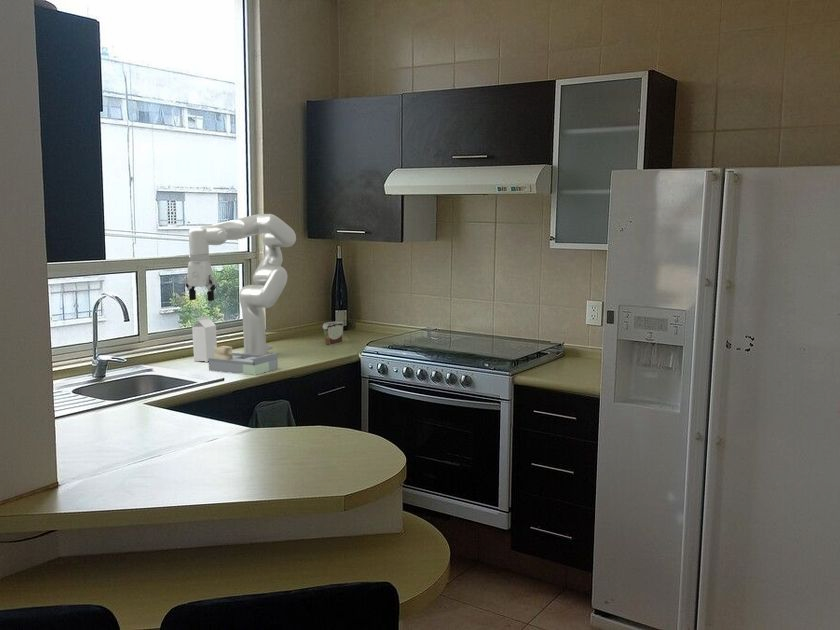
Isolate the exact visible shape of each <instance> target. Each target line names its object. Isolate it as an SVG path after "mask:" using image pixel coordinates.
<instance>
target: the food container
mask: <svg viewBox="0 0 840 630" xmlns="http://www.w3.org/2000/svg"><path fill="white" fill-rule="evenodd" d="M344 326H345V324H344V321H328V322H324V323H323V325H322V329H323V332H324V339H325V340H324V341H325V345H326V346H334V345H338V344H343V342H344V341H343V339H344V338H343V337H344Z"/></svg>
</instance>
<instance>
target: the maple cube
mask: <svg viewBox="0 0 840 630" xmlns="http://www.w3.org/2000/svg"><path fill="white" fill-rule="evenodd" d="M232 353H233V346H227V345H222V346H221V345H220V346H217V347H216V348H214V355H215V359H225V360H230V359H233V356H232Z"/></svg>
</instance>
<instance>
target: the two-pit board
mask: <svg viewBox="0 0 840 630" xmlns="http://www.w3.org/2000/svg"><path fill="white" fill-rule="evenodd" d="M232 356H233V359H230V360H225V359H214V358H208V361H209V362H208V371H210V370H215V371H214V372H219V371H222V372H221V373H228V372H232V373H231V374H238V373H244V374H243V375H247V374H253V375H252V376H257V375H256V374H258V375H261V374H264V372H265V373H268V372H271V371H275V370H277V369H279V366H278V365H279V364H278V363H279V360H278V352H274V353H270V354H269V355H253V354H243V353H242V352H232ZM260 373H261V374H260Z"/></svg>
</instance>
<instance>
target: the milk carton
mask: <svg viewBox="0 0 840 630" xmlns="http://www.w3.org/2000/svg"><path fill="white" fill-rule="evenodd" d="M191 329H192V346H193V347H192V348H193V361H194V360H195V361H194V362H199V361H205V362H204V363H209V362H208V358H214V359H215V355H214V348H216V347H218V346H217V345H218V339H217V325H216V324H215V323H214V322H213V321H212V320H211V318H210V316H209V315H207V316H202V317H197V321H196V323H194V324H193V325H192V328H191Z"/></svg>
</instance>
